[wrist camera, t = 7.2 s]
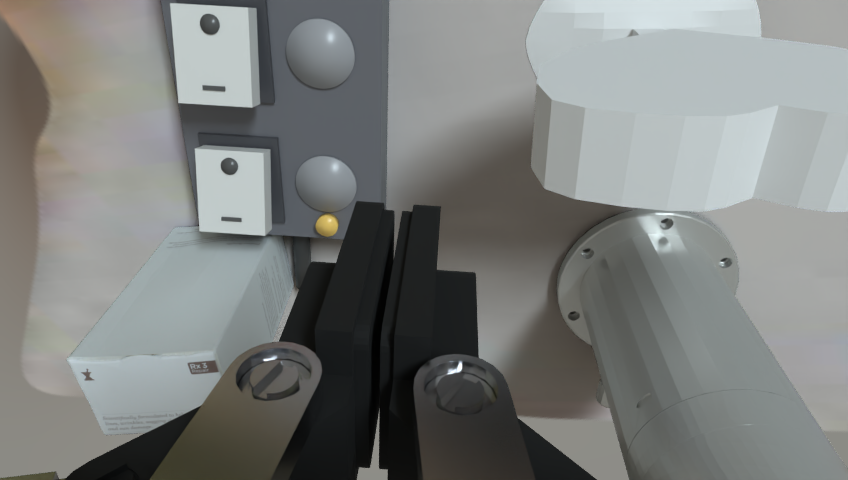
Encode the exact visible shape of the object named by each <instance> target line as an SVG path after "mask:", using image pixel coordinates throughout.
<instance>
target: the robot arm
mask: <svg viewBox="0 0 848 480" xmlns="http://www.w3.org/2000/svg"><path fill="white" fill-rule="evenodd" d="M440 209H441V207H440V206H425V205H414V206H413V212H408V211H402V216H401V222H400V228H399V233H398V239H397V245H396V250H395V256H394V216H395V215H394V211H392V210H385V205H384V203H379V202H364V201H356V203H355V206H354V210H353V213H352V216H351V219H350V222H349V225H348V228H347V231H346V234H345V237H344V240H343V243H342V246H341V250H340V253H339V256H338V259H337V262H336V263H326V262H311V263H310V265H309V266H308V269H307V271H306V274H305V276H304V279H303V282H302V284H301V287H300V289H299V292H298V294H297V297H296V299H295V302H294V304H293V307H292V309H291V312H290V315H289V317H288V320H287V322H286V325H285V327H284V330H283V332H282V335H281V337H280V340H279V342H271V343H264V344H261V345H259V346H256V347H253V348H250V349H249V350H247V351H245V352H244V353H242V354H240V355H239V356H238V357H237V358H236V359H235V360H234V361H233V362H232V363H231V364H230V365H229V367H228V368H227V370H226V371H225V373H224V374H223V375H222V377H221V378H220V380H219V381H218V383H217V384H216V385H215V387H214V388H213V390H212V391H211V393H210V394H209V395H208V397H207V398H206V400H205V401H204V403H203V404H202V405H201V406H199V407H197V408H195V409H193V410H191V411H189V412H187V413H185V414H183V415H181V416H179V417H177V418H175V419H173V420H171V421H169V422H167V423H165V424H163V425H161V426H159V427H157V428H155V429H153V430H151V431H149V432H147V433H145V434H143V435H141V436H139V437H137V438H135V439H133V440H131V441H129V442H127V443H125V444H123V445H121V446H119V447H117V448H115V449H113V450H111V451H109V452H107V453H105V454H103V455H101V456H99V457H97V458H95V459H93V460H91V461H89V462H87V463H86V464H84V465H83V466H81V467H79V468H78V469H76V470H75V471H73V472H72V473H71V474H70V475H69V476H68V477H67V478H64V479H59V478H58V475H57V473H56V472H48V473H39V474H30V475H22V476H14V477H6V478H0V480H357V474H358V469H359V467H363V468H370V464H371V458H372V452H373V446H374V439H375V433H376V427H377V420H378V414H379V407H380V424H379V428H380V429H379V432H380V433H379V468H380V469H388V480H597V479H595V478H594V477H593V476H591V475H590V474H589V473H588V472H586V471H585V470H584V469H582V468H581V467H580V466H579V465H577V464H576V463H575V462H573V461H572V460H571V459H569V458H568V457H567V456H566V455H564V454H563V453H562V452H561V451H559V450H558V449H557V448H556V447H554V446H553V445H552V444H550V443H549V442H548V441H546V440H545V439H544V438H543V437H541V436H540V435H539V434H537V433H536V432H535V431H534V430H532V429H531V428H530V427H529V426H527V425H526V424H525V423H523V422H522V421H521V420H520V419H518V418H517V415H516V411H515V408H514V405H513V401H512V398H511V394H510V391H509V388H508V384H507V382H506V380H505V379H504V377H503V375H502V374H501V373H500V372H499V371H498V370H497V369H496V368H495V367H494V366H493V365H491V364H490V363H488V362H486V361H484V360H483V359H480V358H479V357H478V327H477V297H476V274H475V273H473V272H459V271H444V270H437V255H438V240H439V225H440ZM663 219H664V220H663ZM738 283H739V265H738V261H737V257H736V254H735V252H734V250H733V248H732V246H731V245H730V243H729V241H728V240H727V239H726V237H725V236H724V235H723V234H722V232H721V231H720V230H719V229H718V228H717V227H715V226H714V225H713V224H712V223H711V222H710V221H708V220H706V219H704V218H702V217H700V216H699V215H697V214H695V213H691V212H688V211H663V210H653V209H643V208H641V209H636V210H632V211H627V212H624V213H621V214H619V215H616V216H613V217H611V218H608V219H606V220H605V221H603V222H601V223H600V224H598V225H596V226H594V227H593V228H592V229H590V230H589V231H588V232H587V233H585V234H584V235H583V236H582V237H581V238H579V240H578V241H577V242H576V243H575V244H574V246H573V247H572V248H571V249H570V250H569V252H568V253H567V255H566V257H565V259H564V261H563V262H562V264H561V268H560V271H559V274H558V277H557V289H556V291H557V297H558V303H559V307H560V310H561V314H562V317H563V318H564V320H565V322H566V323H567V325H568V327H569V328H570V329H571V330H572V331H573V332H574V333H575V334H576V336H577V337H579V338H580V339H582V340H583V341H584V342H586V343H587V344H589V345H591V346H592V347H593V350H594V354H595V358H596V361H597V365H598V368H599V372H600V376H601V379H600V382H599V386H598V389H597V393H596V399H597V401H598V402H599V403H600V404H601V405H603V406H604V407H607V408H610V412H611V415H612V419H613V423H614V426H615V430H616V434H617V437H618V441H619V444H620V448H621V452H622V455H623V459H624V462H625V466H626V470H627V473H628V477H629V480H848V468H847V466H846V465H845V463H844V462H843V461H842V459H841V458H840V456H839V455H838V453H837V452H836V450H835V449H834V447H833V446H832V444H831V443H830V441H829V440H828V438H827V437H826V435H825V434H824V432H823V431H822V429H821V427H820V426H819V424H818V423H817V421H816V420H815V418H814V417H813V415H812V414H811V412H810V411H809V409H808V408H807V406H806V404H805V403H804V401H803V400H802V398H801V397H800V395H799V394H798V392H797V391H796V389H795V388H794V386H793V384H792V383H791V381H790V380H789V378H788V377H787V375H786V374H785V372H784V371H783V369H782V368H781V366H780V364H779V363H778V361H777V360H776V358H775V357H774V355H773V354H772V352H771V351H770V349H769V347H768V346H767V344H766V343H765V341H764V340H763V338H762V337H761V335H760V334H759V332H758V331H757V329H756V327H755V326H754V324H753V323H752V321H751V320H750V318H749V317H748V315H747V314H746V312H745V310H744V309H743V307H742V306H741V304H740V303H739V301H738V300H737V298H736V297H735V294H736V291H737V287H738Z"/></svg>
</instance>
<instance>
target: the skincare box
mask: <svg viewBox="0 0 848 480" xmlns="http://www.w3.org/2000/svg"><path fill="white" fill-rule="evenodd" d="M293 286H294V283H293V279H292V274H291V270H290V266H289V262H288V257H287V253H286V249H285V244H284V240H283V236H282V235H270V234H267V235H265V236H262V235H247V234H232V233H217V232H202V231H199V226H195V227H176V228H174V229H173V230H172V231H171V232H170V234H169V235H168V236H167V237H166V238H165V240H164V241H163V242H162V243H161V245H160V246H159V247H158V248H157V250H156V251H155V252H154V253H153V255H152V256H151V257H150V258H149V259H148V261H147V262H146V263H145V264H144V266H143V267H142V268H141V269H140V271H139V272H138V273H137V274H136V276H135V277H134V278H133V279H132V280H131V282H130V283H129V284H128V285H127V286H126V288H125V289H124V290H123V291H122V293H121V294H120V295H119V296H118V297H117V299H116V300H115V301H114V302H113V304H112V305H111V306H110V307H109V309H108V310H107V311H106V312H105V313H104V315H103V316H102V317H101V318H100V320H99V321H98V322H97V323H96V324H95V326H94V327H93V328H92V329H91V331H90V332H89V333H88V334H87V335H86V337H85V338H84V339H83V340H82V342H81V343H80V344H79V345H78V346H77V348H76V349H75V350H74V351H73V352H72V353H71V355H70V356H69V357H68V358H67V362H68V364H69V366H70V367H71V369H72V371H73V373H74V375H75V377H76V379H77V381H78V383H79V385H80V387H81V389H82V391H83V393H84V394H85V396H86V398H87V400H88V402H89V404H90V406H91V408H92V410H93V412H94V414H95V417H96V419H97V421H98V423H99V426H100V428H101V429H102V431H103V433H104V434H105V435H121V434H137V433H147V432H149V431H151V430H153V429H155V428H157V427H159V426H161V425H163V424H165V423H167V422H169V421H171V420H173V419H175V418H177V417H179V416H181V415H183V414H185V413H187V412H189V411H191V410H193V409H195V408H197V407H199V406H201V405H202V404H203V403H204V401H205V400H206V398H207V397H208V395H209V394H210V393H211V391H212V390H213V388H214V387H215V385H216V384H217V383H218V381H219V380H220V378H221V377H222V375H223V374H224V373H225V371H226V370H227V368H228V367H229V365H230V364H231V363H232V362H233V361H234V360H235V359H236V358H237V357H238V356H239V355H240V354H242V353H244V352H245V351H247V350H249V349H250V348H253V347H256V346H259V345H261V344H264V343H271V342H272V341H273V338H274V336H275V333H276V331H277V328H278V326H279V323H280V320H281V318H282V315H283V313H284V310H285V307H286V304H287V302H288V299H289V297H290V294H291V292H292V289H293Z"/></svg>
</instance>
